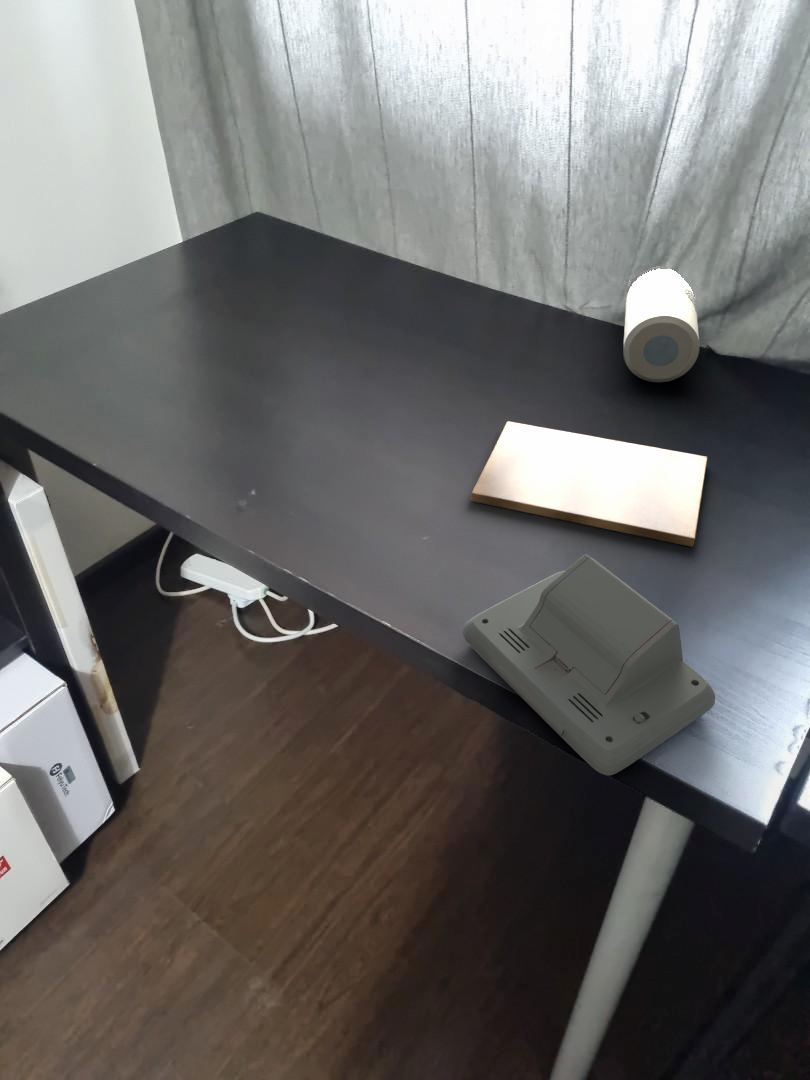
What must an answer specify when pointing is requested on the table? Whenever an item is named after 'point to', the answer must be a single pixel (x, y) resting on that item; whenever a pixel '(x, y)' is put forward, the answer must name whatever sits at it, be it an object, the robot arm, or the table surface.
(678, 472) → the wooden board
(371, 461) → the table surface
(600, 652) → the digital clock
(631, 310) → the travel mug
